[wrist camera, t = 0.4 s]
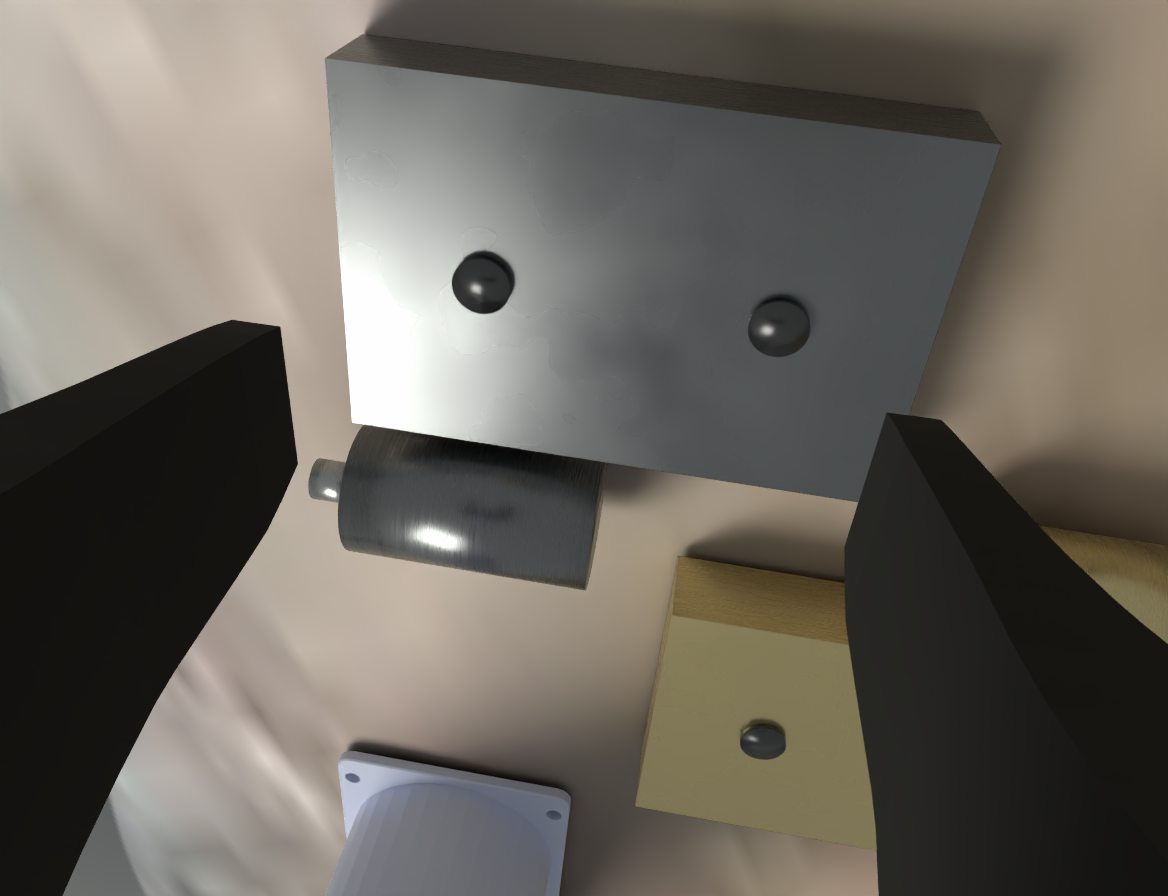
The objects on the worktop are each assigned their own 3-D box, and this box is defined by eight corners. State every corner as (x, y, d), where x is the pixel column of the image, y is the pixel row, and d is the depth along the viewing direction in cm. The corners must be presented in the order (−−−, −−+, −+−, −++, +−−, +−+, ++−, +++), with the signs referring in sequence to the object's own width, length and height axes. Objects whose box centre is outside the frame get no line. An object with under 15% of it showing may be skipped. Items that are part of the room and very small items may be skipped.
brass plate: (1262, 532, 22) (1328, 633, 19) (1069, 821, 29) (1100, 924, 26) (699, 445, 23) (691, 530, 20) (642, 744, 30) (631, 836, 27)
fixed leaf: (979, 111, 18) (1019, 172, 15) (833, 564, 25) (842, 663, 22) (309, 28, 19) (231, 70, 16) (346, 485, 26) (296, 570, 23)
